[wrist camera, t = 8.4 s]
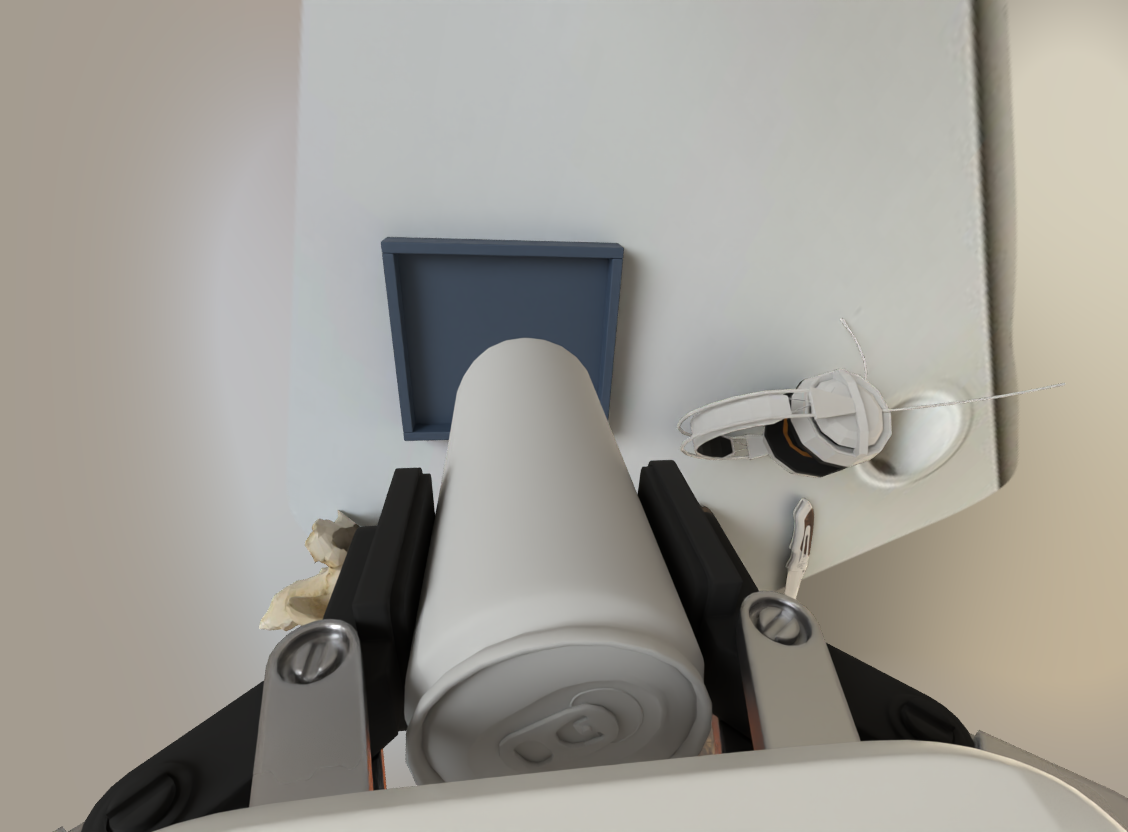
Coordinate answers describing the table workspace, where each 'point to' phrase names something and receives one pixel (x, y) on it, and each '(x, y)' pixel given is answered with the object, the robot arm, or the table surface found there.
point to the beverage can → (544, 591)
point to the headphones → (803, 423)
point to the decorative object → (314, 593)
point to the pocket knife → (799, 546)
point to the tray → (493, 313)
